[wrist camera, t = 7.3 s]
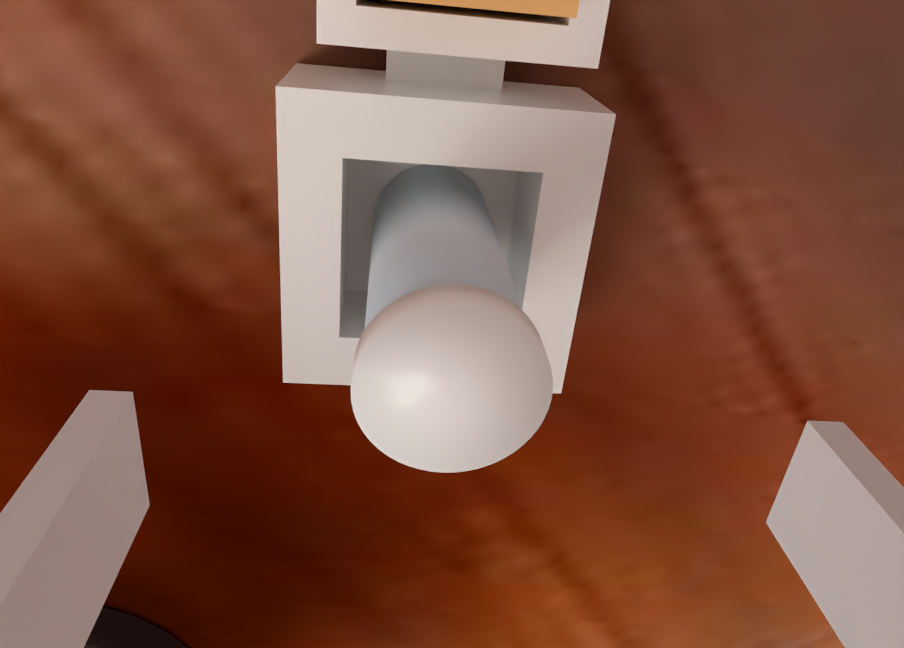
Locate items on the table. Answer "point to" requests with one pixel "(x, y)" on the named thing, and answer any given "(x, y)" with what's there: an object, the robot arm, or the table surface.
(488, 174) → the white compartment holder
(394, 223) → the grey rounded cylinder
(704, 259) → the table surface
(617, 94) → the table surface
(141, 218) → the table surface
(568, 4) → the plunger
